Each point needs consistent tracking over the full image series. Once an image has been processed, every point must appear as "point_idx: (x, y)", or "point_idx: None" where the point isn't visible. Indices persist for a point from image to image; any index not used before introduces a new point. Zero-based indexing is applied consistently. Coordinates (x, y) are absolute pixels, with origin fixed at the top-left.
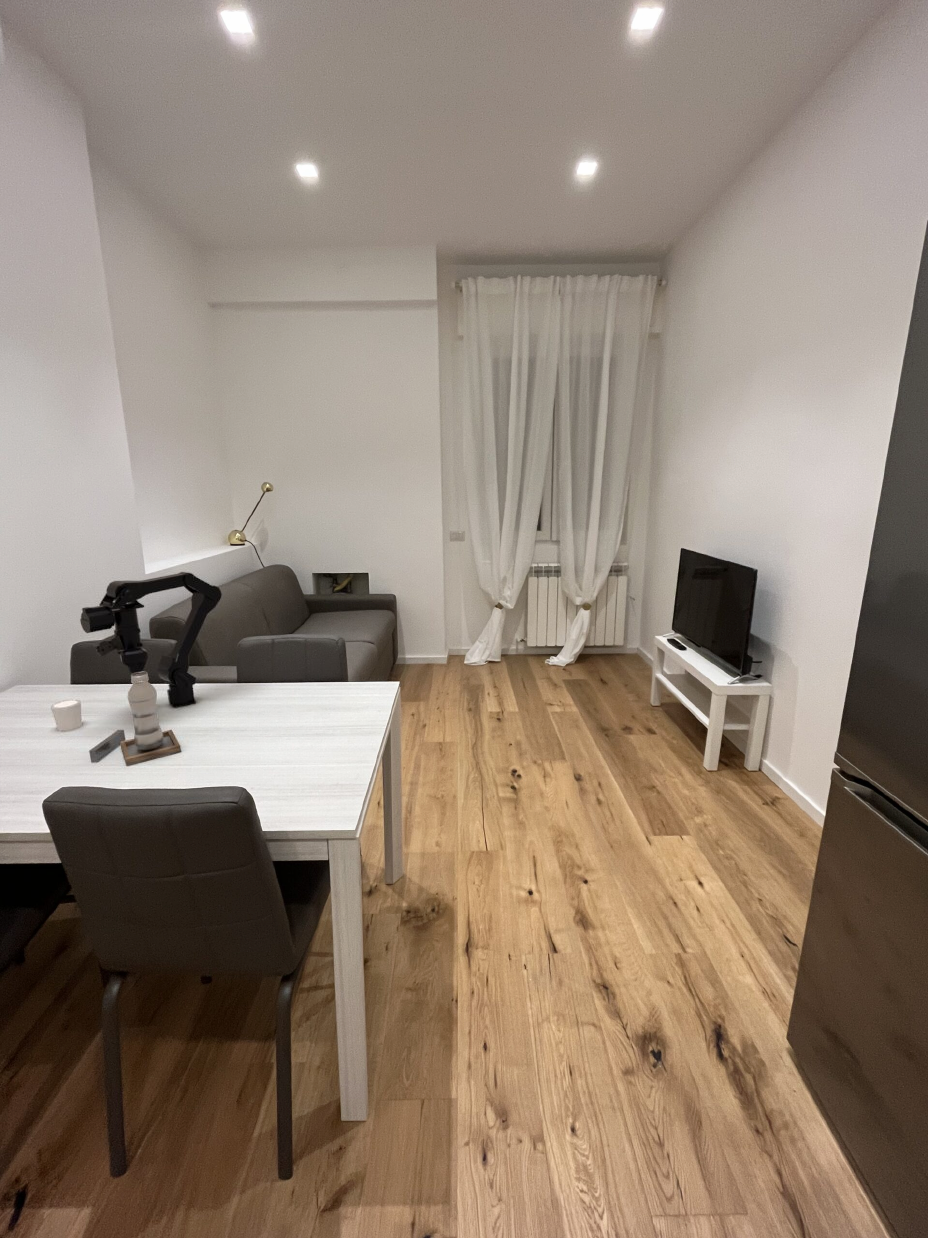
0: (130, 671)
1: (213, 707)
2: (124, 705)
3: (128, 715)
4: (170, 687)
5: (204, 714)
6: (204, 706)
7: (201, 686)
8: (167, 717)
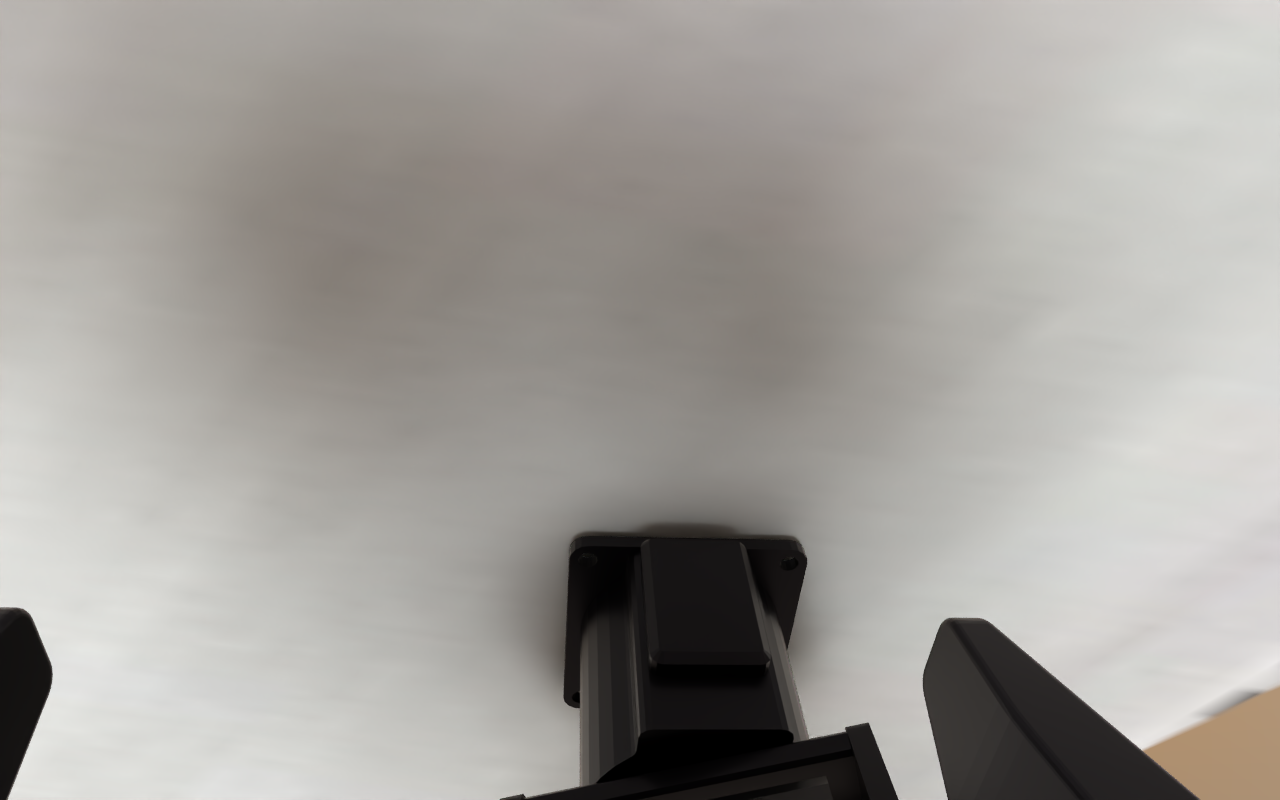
0: (978, 675)
1: (357, 761)
2: (1157, 121)
3: (706, 94)
4: (644, 732)
5: (207, 689)
6: (434, 721)
7: None
8: (318, 442)
